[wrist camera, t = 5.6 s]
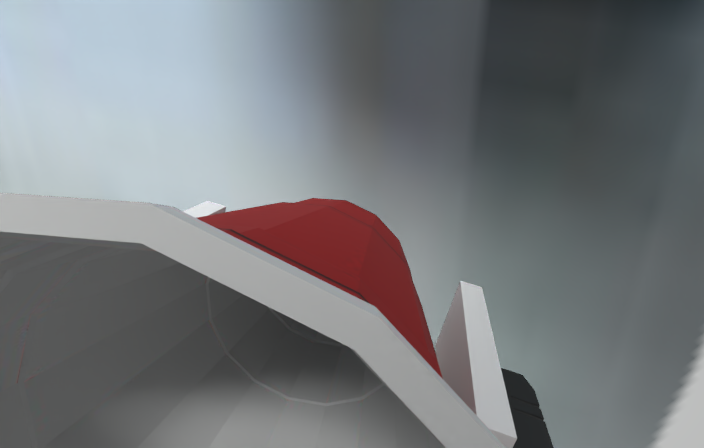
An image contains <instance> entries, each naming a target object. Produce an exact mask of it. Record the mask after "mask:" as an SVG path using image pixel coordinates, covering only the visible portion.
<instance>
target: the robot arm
mask: <svg viewBox="0 0 704 448" xmlns="http://www.w3.org/2000/svg"><path fill="white" fill-rule="evenodd" d="M225 209H226V206H223V205H220V204H216V203H213V202H210V201H205V202H203V203H201V204H198V205H196V206H194V207H191V208H189V209H187V210H184V211H183V212H185V213H187V214H189V215H191V216H193V217H195V218H198V217H203V216H209V215H214V214H220V213H225ZM436 357H437V361H438V364H439V367H440V371H441V374H442V377H443V380H444V381H445V382H446V383H447V384H448V385H449V386H450V387H451V388H452V390H453V391H454V392H455V393H456V394H457V395H458V396H459V397H460V398H461V399H462V400H463V401H464V403H465V404H466V405H467V406H468V407H469V408H470V409H471V410H472V411H473V412H474V413H475V414H476V415H477V417H478V418H479V419H480V420H481V421H482V422H483V423H484V424H485V425H486V426H487V427H488V428H489V429H490V431H491V432H492V433H493V434H494V435H495V436H496V437H497V438H498V439H499V440H500V441H501V442H502V443H503V445H504V446H505V447H506V448H553V445H552V442H551V439H550V436H549V433H548V430H547V427H546V424H545V422H544V421H543V419H544V418H543V415H542V412H541V409H539V403H538V400H537V397H536V394H535V391H534V389H533V388H532V387H531V386H530V384H529V383H528V382H527V380H526V379H525V378H524V376H523V375H521V374H518V373H515V372H512V371H509V370H506V369H503V368H501V367H500V363H499V358H498V354H497V350H496V345H495V341H494V337H493V333H492V328H491V324H490V320H489V315H488V311H487V307H486V302H485V298H484V294H483V290H482V287H479V286H476V285H473V284H470V283H467V282H464V281H460V283H459V285H458V288H457V290H456V293H455V296H454V298H453V301H452V303H451V306H450V309H449V311H448V314H447V317H446V319H445V322H444V324H443V327H442V330H441V332H440V335H439V337H438V340H437V343H436Z"/></svg>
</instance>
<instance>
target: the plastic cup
mask: <svg viewBox="0 0 704 448" xmlns="http://www.w3.org/2000/svg"><path fill="white" fill-rule="evenodd" d="M0 448H506V447H505V446H504V445H503V443H502V442H501V441H500V440H499V439H498V438H497V437H496V436H495V435H494V434H493V433H492V432H491V431H490V429H489V428H488V427H487V426H486V425H485V424H484V423H483V422H482V421H481V420H480V419H479V418H478V417H477V415H476V414H475V413H474V412H473V411H472V410H471V409H470V408H469V407H468V406H467V405H466V404H465V403H464V401H463V400H462V399H461V398H460V397H459V396H458V395H457V394H456V393H455V392H454V391H453V390H452V388H451V387H450V386H449V385H448V384H447V383H446V382H445V381H444V380H443V377H442V374H441V371H440V367H439V364H438V361H437V357H436V354H435V350H434V347H433V343H432V340H431V336H430V333H429V329H428V326H427V323H426V319H425V316H424V312H423V309H422V305H421V303H420V300H419V297H418V294H417V292H416V289H415V286H414V283H413V281H412V276H411V272H410V269H409V266H408V263H407V260H406V258H405V255H404V252H403V249H402V247H401V244H400V241H399V240H398V238H397V237H396V236H395V235H394V234H393V233H392V232H391V231H390V230H389V229H388V228H387V226H386V225H385V224H384V223H383V222H382V221H381V220H380V219H379V218H378V217H377V216H376V215H375V214H373V213H371V212H369V211H367V210H365V209H363V208H361V207H359V206H357V205H354V204H352V203H350V202H348V201H346V200H332V199H318V198H312V199H308V200H304V201H300V202H296V203H286V202H282V203H276V204H270V205H265V206H259V207H254V208H248V209H242V210H237V211H231V212H226V213H220V214H214V215H209V216H203V217H198V218H195V217H193V216H191V215H189V214H187V213H185V212H183V211H181V210H179V209H177V208H175V207H170V206H164V205H158V204H152V203H144V202H130V201H115V200H100V199H85V198H71V197H56V196H41V195H27V194H12V193H0Z"/></svg>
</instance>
